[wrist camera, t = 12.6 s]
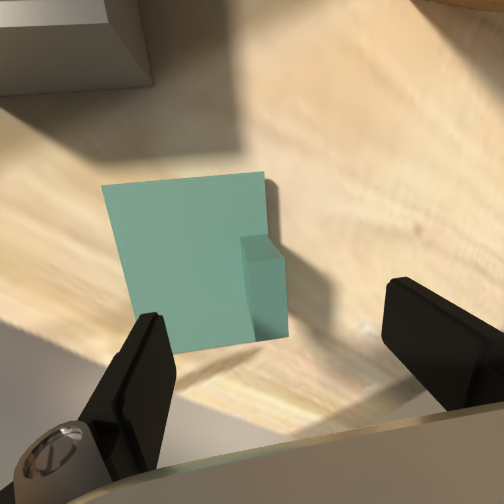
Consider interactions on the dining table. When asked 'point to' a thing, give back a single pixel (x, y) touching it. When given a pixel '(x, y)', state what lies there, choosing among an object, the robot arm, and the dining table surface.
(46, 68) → the tub
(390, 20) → the dining table surface
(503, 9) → the sandwich container
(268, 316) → the lid
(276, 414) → the dining table surface
